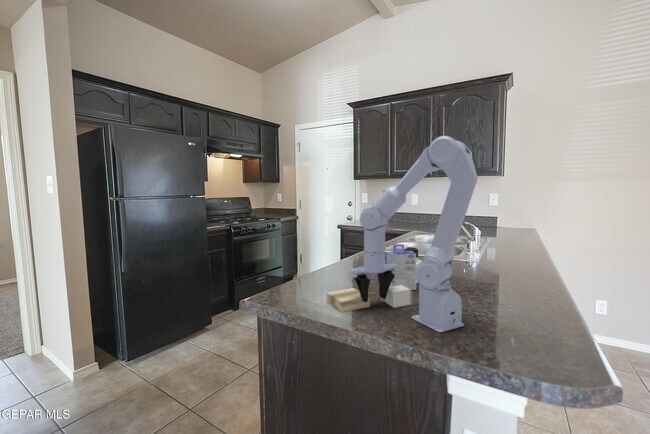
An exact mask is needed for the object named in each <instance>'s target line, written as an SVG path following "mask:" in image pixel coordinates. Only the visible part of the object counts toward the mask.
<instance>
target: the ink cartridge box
mask: <svg viewBox="0 0 650 434" xmlns="http://www.w3.org/2000/svg"><path fill="white" fill-rule="evenodd" d="M392 245H393V251H385V264H396V265H397V272H393V271H392V273H393V274H395V277H394V279H393V280H392V282H391V284H390V286H389V287H393V286H400V285H405V286H407V287H409V288H411V289H412V291H414V290H417V284H416V275H415V272H416V253H415V252H413V251H405V248H404V247H405V244H403V243H402V244H400V243H399V244H392ZM398 247H400V248H398Z"/></svg>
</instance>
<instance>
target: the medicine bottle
mask: <svg viewBox="0 0 650 434" xmlns="http://www.w3.org/2000/svg"><path fill="white" fill-rule="evenodd" d="M404 248H405V251H413V252H415V253H416V268H417V267H418V265H419V264H421V263H422V261H423V260H421V259H419V250H418V248H416V247H413V246H407V247H405V246H404ZM417 284H419V282H418V281H417V279H416V285H417Z"/></svg>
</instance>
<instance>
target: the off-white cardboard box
mask: <svg viewBox="0 0 650 434" xmlns="http://www.w3.org/2000/svg"><path fill="white" fill-rule="evenodd" d="M385 303H386V304H387V305H389V306H390V307H391V308H400V307H404V306H405V307H406V306H413V290H412V289H411V288H409V287H407V286H405V285H400V286H393V287H389V289H388V292H387V296H386V299H385Z"/></svg>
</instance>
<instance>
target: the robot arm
mask: <svg viewBox="0 0 650 434" xmlns="http://www.w3.org/2000/svg"><path fill="white" fill-rule="evenodd" d="M441 170H442V171H443V172H444V173H445V175H446V177H447V178H448V180H449V181H450V184H449V189H448V191H447V194H446V198H445V201H444V203H443V207H442V210H441V213H440V217H439V219H438V223H437V226H436V229H435V232H434V236H433V238H432V241H431V244H430V247H429V248H428V250H427V251H426V253H425V255H424V256H423V260H421V261H422V263H421V264H419V265H418V267H417V268H416V272H415V275H416V279H417V281H418V284H419V287H418V288H419V289H418V290H419V291H418V292H419V295H418V305H419V307H418V308H419V310H418V313H419V314H416V315H412V316H411V319H412V320H414V321H416V322H417V323H420V324H421V325H424V326H426V327H427V328H430V329H432V330H434V331H435V332H437V333H439V334H440V333H444V332H448V331H451V330H454V329H458V328H461V327H464V326H465V324H464V323H463V322H462V312H463V309H462V308H463V307H462V306H463V305H462V304H463V301H462V298H461V296H460V294H459V293H457V292H456V291H454V290H453V289H452V287H451V282H450V280H449V279H450V278H451V277H452V276H453V274H454V263H453V262H454V258H455V254H454V250H455V247H456V244H457V241H458V237H459V234H460V232H461V229H462V226H463V223H464V220H465V218H466V214H467V213H468V209H469V207H470V203H471V200H472V197H473V194H474V190H475V188H476V184H477V183H478V174H477V171H476V167H475V163H474V161H473V153H472V151H471V150H470V149H469V147H467V145H466V144H465V143H464V142H462V141H460V140H456V139H454V138H453V137H451V136H448V135H442V136H441V135H440V136H438V137H436V138H435V139H433V141H432V142H431V143H430V145H429V146H427V147H426V148H425V149H424V150H423V151H422V153H421V154H420V156H419V157H418V159H417V160H416V161H415V162H414V163H413V165H412V166H411V167H410V168H409V170H408V171H407V172H406V173H405V175H404V176H403V177H402V178H401V180H399V182H398V183H397V184H396V186H388V188H384V189H383V190H382V191H381V192H382V194H381V195H380V196H379V198H378V199H377V200H376V201H374V202H372V203H371V207H365V208H364V209H363V210H362V212H361V213H360V218H359V219H360V220H359V221H360V223H361V226H362V227H363V229H364V230H363V265H362V266H358V267H355V268H350V269H349V276H350V277H352V278H353V280H354V281H355V283H356V285H357V289H358V291H359V292H360V296H361V297H362V300H363V301H364V302H367V301H368V296H369V288H370V282H371V279H370V278H368V276H370V275H376V274H377V279H378V285H379V286H378V294H379V295H378V296H379V297H380V298H381V299H383V300H386V296H387V292H388V289H389V286H390V284H391V282H392V280H393V279H394V277H395V274H393V273H392V271H393V272H397V265H396V264H385V252H386V228H387V226H388V225H389V224H390V219H391V218H392V217H393V216H394V215H395V214H396V212H397V211H398V210H399V209H400V208H402V206H403V205H404V204H405V203H406V201H407V199H406V198H407V194H408V193H409V192H410V191H411V190H412V189H413V188H414V187H416V185H418V184H419V183H420V182H421V181H422V180H423V179H424V178H425V177H426V176H427V175H429V173H432V172H436V171H437V172H438V171H441Z"/></svg>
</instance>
